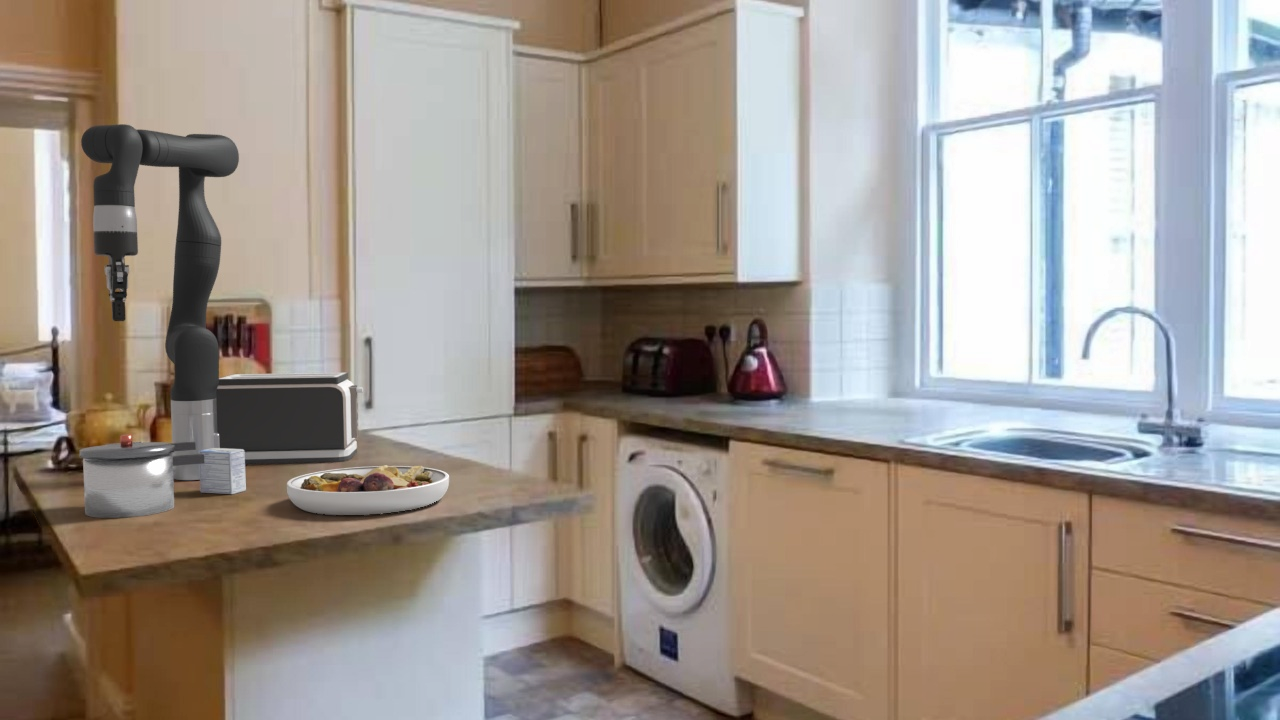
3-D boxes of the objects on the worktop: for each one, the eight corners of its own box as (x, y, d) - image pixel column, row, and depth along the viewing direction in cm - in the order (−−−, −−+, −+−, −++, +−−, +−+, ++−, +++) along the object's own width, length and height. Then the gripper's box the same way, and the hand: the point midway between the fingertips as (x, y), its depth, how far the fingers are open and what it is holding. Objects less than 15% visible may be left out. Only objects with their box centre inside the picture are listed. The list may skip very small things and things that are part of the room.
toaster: (358, 462, 256) (356, 377, 254) (208, 466, 251) (205, 379, 250) (369, 451, 275) (367, 371, 273) (229, 454, 270) (226, 373, 269)
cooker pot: (197, 494, 214) (195, 445, 213) (211, 508, 199) (209, 455, 199) (82, 505, 203) (80, 453, 203) (87, 521, 189) (85, 465, 188)
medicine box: (246, 491, 218) (245, 449, 217) (231, 495, 213) (230, 452, 213) (215, 489, 220) (213, 447, 220) (199, 493, 216) (198, 450, 215)
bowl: (280, 497, 212) (279, 457, 212) (430, 485, 224) (429, 448, 224) (296, 526, 185) (295, 481, 184) (466, 511, 197) (465, 468, 196)
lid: (188, 445, 212) (187, 428, 212) (201, 453, 197) (200, 435, 197) (77, 453, 202) (76, 435, 202) (82, 462, 187) (81, 443, 187)
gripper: (140, 229, 201) (144, 321, 202) (133, 232, 212) (136, 320, 213) (96, 227, 197) (99, 322, 198) (91, 232, 208) (94, 320, 209)
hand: (118, 320), depth 206 cm, fingers closed
